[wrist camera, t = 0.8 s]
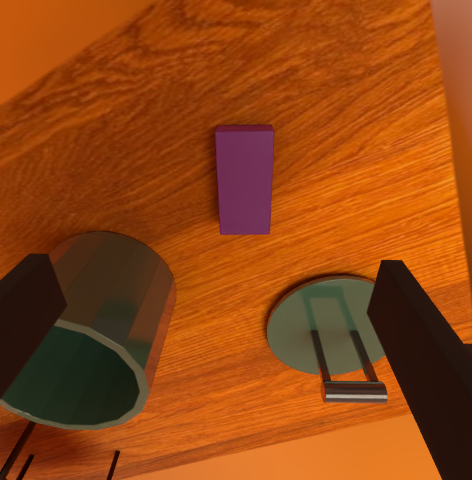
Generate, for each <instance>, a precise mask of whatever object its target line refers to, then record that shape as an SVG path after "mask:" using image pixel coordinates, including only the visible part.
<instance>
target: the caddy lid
mask: <svg viewBox="0 0 472 480" xmlns="http://www.w3.org/2000/svg"><path fill="white" fill-rule="evenodd" d="M374 285H375V282H374V281H371V280H369V279H365V278H362V277H355V276H330V277H323V278H319V279H316V280H312V281H310V282H307V283H304V284H302V285H300V286H298V287H296V288H295V289H293V290H292V291H290V292H289V293H287V294H286V295H285V296H284V297H282V299H281V300H280V301H279V302H278V303H277V304H276V305H275V307H274V308H273V310H272V312H271V314H270V316H269V319H268V322H267V339H268V344H269V346H270V348H271V350H272V351H273V353H274V354H275V356H276V357H277V358H278V359H279V360H281V361H282V362H283V363H284V364H286V365H288V366H289V367H291V368H293V369H296V370H298V371H301V372H305V373H309V374H316V375H320V377H321V381H322V382H321V396H322V400H323V402H324V403H381V404H385V403H387V400H388V395H387V390H386V387H385V385H384V383H383V382H380V381H378V378H377V376H376V374H375V371H374V369H373V366H372V364H373V363H375V362H376V361H378V360H379V359H381V358H382V357H383V356H385V352H384V350H383V348H382V346H381V344H380V341H379V339H378V337H377V335H376V333H375V330H374V328H373V326H372V324H371V322H370V319H369V317H368V315H367V313H366V312H367V309H368V305H369V302H370V298H371V295H372V292H373V288H374ZM362 368H363V371H364V373H365V376H366V379H367V381H331V378H330V375H337V374H344V373H349V372H353V371H356V370H359V369H362Z"/></svg>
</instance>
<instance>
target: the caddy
mask: <svg viewBox="0 0 472 480" xmlns="http://www.w3.org/2000/svg"><path fill="white" fill-rule="evenodd" d="M49 257H50V260H51V263H52V265H53V268H54V271H55V273H56V276H57V279H58V281H59V284H60V287H61V289H62V292H63V295H64V297H65V300H66V303H67V305H68V306H67V307H66V309H65V310H64V312H63V313H62V314H61V316H60V317H59V319H58V320H57V321H56V323H55V324H54V326H53V327H52V328H51V330H50V331H49V333H48V334H47V335H46V337H45V338H44V340H43V341H42V342H41V344H40V345H39V347H38V348H37V349H36V351H35V352H34V353H33V355H32V356H31V358H30V359H29V360H28V362H27V363H26V365H25V366H24V367H23V369H22V370H21V372H20V373H19V374H18V376H17V377H16V379H15V380H14V381H13V383H12V384H11V386H10V387H9V388H8V390H7V391H6V393H5V394H4V395H3V397H2V398H1V400H0V406H2V407H3V408H4V409H6V410H8V411H10V412H12V413H15V414H17V415H19V416H22V417H24V418H26V419H28V420H31V421H33V422H35V423H40V424H44V425H49V426H53V427H58V428H62V429H68V430H100V429H105V428H109V427H113V426H117V425H121V424H124V423H126V422H127V421H129V420H130V419H132V418H133V417H135V416H136V415H137V414H139V413H140V412H142V410H143V408H144V406H145V403H146V401H147V398H148V396H149V394H150V390H151V387H152V383H153V380H154V376H155V373H156V369H157V366H158V362H159V359H160V355H161V352H162V348H163V345H164V341H165V337H166V334H167V330H168V327H169V323H170V320H171V316H172V313H173V309H174V306H175V302H176V285H175V281H174V278H173V275H172V273H171V271H170V269H169V268H168V266H167V265H166V263H165V262H164V261H163V260H162V258H161V257H160V256H159V255H158V254H157V253H155V252H154V251H153V250H152V249H150V248H149V247H147V246H146V245H144V244H143V243H141V242H139V241H137V240H135V239H133V238H130V237H128V236H125V235H121V234H117V233H112V232H102V231H95V232H86V233H81V234H78V235H75V236H73V237H71V238H69V239H67V240H65V241H64V242H62V243H60V244H59V245H58V246H57V247H56V248H55V249H54V250H53V251H52V252H51V253H50V254H49Z"/></svg>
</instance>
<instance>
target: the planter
mask: <svg viewBox="0 0 472 480" xmlns="http://www.w3.org/2000/svg"><path fill="white" fill-rule="evenodd" d="M35 425H36V423H35V422H33V421H31V420H30V422H29V424H28V425H27V427H26V429H25V431H24V432H23V434H22V436H21V437H20V439H19V441H18V442H17V444H16V446H15V448H14V449H13V451H12V453H11V454H10V456H9V458H8V459H7V461H6V463H5V464H4V466H3V468H2V470H1V471H0V480H7V479H6V476H7V474H8V473H9V471H10V469H11V467H12V466H13V464H14V462H15V460H16V459H17V457H18V455H19V453H20V452H21V450H22V448H23V446H24V445H25V443H26V441H27V439H28V438H29V436H30V434H31V432H32V430H33V429H34V427H35ZM119 454H120V451H116V452H115V455H114V458H113V461H112V464H111V467H110V470H109V473H108V476H107V480H111V479H112V476H113V473H114V470H115V466H116V463H117V460H118V457H119ZM33 458H34V455H32V454H31V455H29V456H28V458H27V460H26V462H25V464H24V466H23V467H22V469H21V471H20V473H19V475H18V477H17V478H16V480H22V479H23V477H24V475H25V473H26V471H27V469H28V467H29V465H30V464H31V462H32V460H33Z"/></svg>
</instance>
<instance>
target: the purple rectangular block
mask: <svg viewBox="0 0 472 480" xmlns="http://www.w3.org/2000/svg"><path fill="white" fill-rule="evenodd" d="M215 145H216V165H217V185H218V204H219V224H220V234H221V235H245V234H270V218H271V195H272V171H273V148H274V130H273V128H272V125H226V126H217V128H216V131H215Z"/></svg>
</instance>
